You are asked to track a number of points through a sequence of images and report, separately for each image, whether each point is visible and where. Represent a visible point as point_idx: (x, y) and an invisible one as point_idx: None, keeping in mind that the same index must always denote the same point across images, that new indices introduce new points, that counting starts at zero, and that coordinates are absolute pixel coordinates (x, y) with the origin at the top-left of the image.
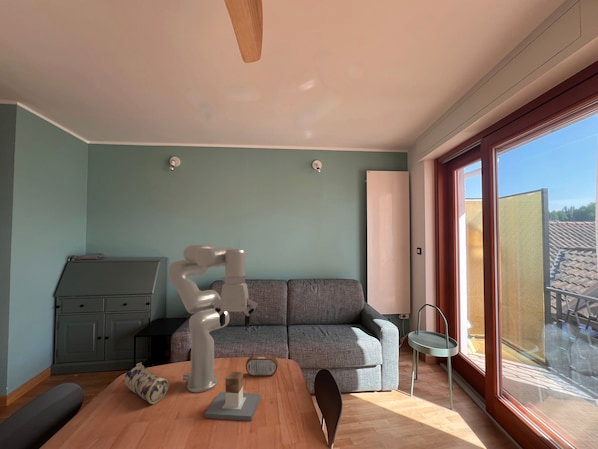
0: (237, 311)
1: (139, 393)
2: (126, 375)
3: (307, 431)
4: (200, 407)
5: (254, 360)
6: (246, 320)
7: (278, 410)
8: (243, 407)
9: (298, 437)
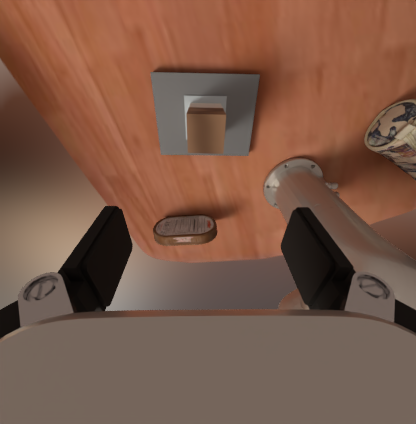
0: (134, 312)
1: None
2: None
3: (15, 44)
4: (276, 110)
5: (197, 233)
6: (85, 237)
7: (110, 114)
8: (180, 104)
9: (23, 18)
